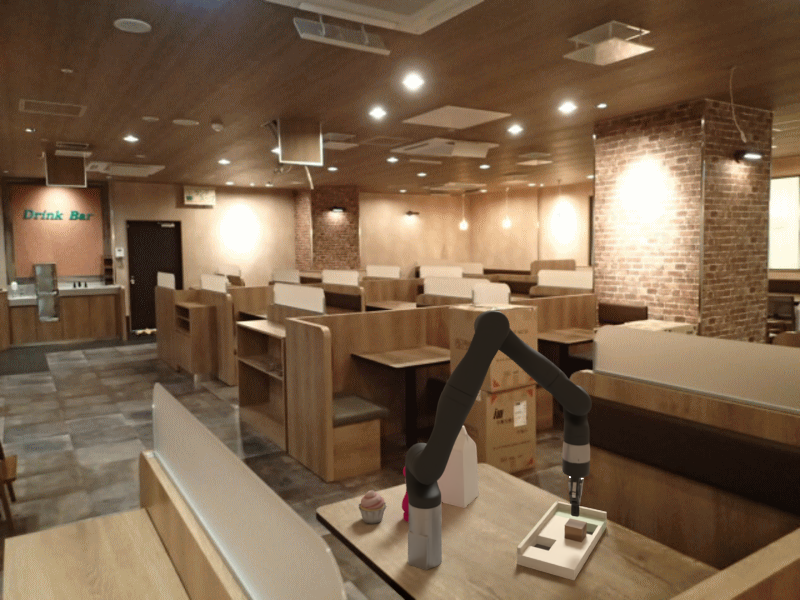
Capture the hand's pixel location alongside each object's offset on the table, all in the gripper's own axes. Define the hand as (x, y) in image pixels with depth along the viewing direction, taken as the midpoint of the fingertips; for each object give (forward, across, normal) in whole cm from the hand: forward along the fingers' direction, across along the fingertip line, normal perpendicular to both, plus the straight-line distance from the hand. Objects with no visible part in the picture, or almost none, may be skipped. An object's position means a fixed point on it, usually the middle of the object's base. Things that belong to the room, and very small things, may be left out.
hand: (575, 515), depth 178 cm
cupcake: (+11, 0, +63) cm, 64 cm away
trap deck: (+11, +3, +3) cm, 12 cm away
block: (+8, +3, 0) cm, 9 cm away
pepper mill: (+11, +5, +51) cm, 52 cm away
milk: (+11, +24, +42) cm, 50 cm away
